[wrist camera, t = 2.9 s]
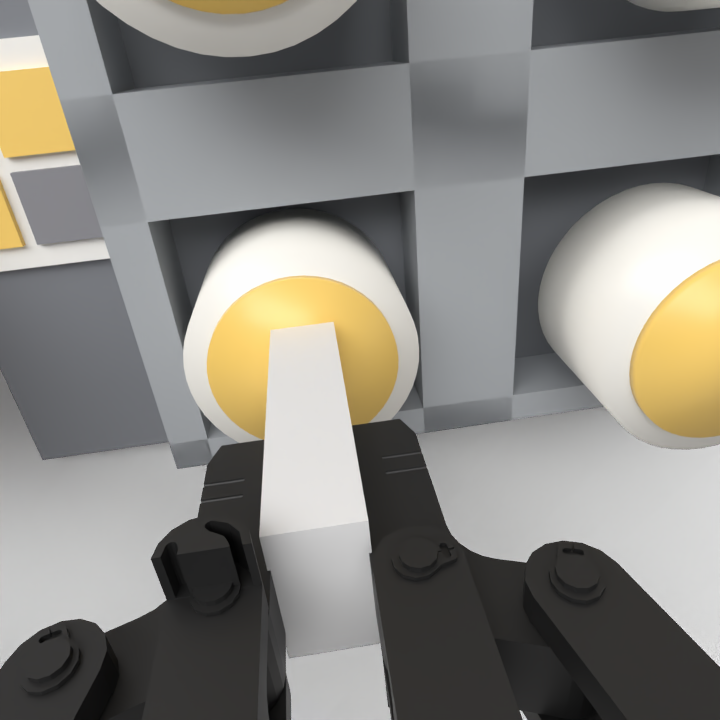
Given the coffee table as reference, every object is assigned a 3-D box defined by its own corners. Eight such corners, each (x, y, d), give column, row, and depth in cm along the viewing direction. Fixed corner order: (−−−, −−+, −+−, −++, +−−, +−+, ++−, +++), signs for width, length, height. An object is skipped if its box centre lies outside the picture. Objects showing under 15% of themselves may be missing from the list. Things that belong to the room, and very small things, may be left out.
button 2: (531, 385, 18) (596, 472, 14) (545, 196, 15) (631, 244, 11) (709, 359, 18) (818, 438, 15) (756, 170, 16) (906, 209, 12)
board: (52, 443, 21) (16, 504, 18) (-300, -345, 11) (-495, -477, 9) (687, 353, 23) (746, 397, 20) (858, -410, 13) (1022, -541, 10)
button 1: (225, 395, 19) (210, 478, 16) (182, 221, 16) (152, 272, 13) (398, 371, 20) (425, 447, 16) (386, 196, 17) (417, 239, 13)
